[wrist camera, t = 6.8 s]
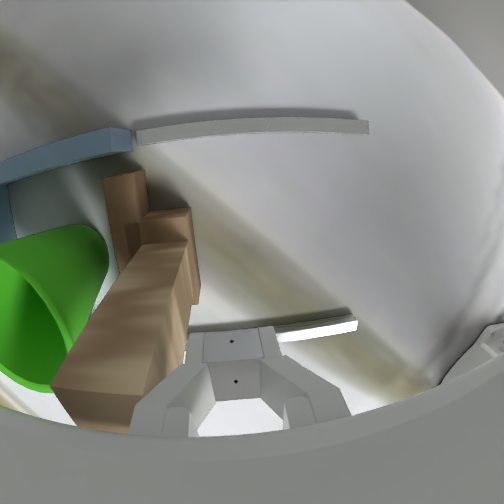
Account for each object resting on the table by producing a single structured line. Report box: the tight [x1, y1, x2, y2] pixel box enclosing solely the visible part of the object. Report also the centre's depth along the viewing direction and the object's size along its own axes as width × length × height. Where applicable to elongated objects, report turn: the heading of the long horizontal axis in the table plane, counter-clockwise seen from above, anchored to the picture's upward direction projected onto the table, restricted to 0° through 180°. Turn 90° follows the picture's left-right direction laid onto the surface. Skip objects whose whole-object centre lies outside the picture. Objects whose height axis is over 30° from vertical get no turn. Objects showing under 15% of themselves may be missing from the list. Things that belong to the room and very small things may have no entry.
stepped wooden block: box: [50, 170, 201, 434], centre depth 13 cm, size 5×12×15 cm, turn 4°
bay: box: [0, 127, 132, 244], centre depth 18 cm, size 14×18×4 cm
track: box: [136, 117, 369, 351], centre depth 20 cm, size 16×18×1 cm
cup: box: [0, 224, 109, 393], centre depth 15 cm, size 9×9×11 cm
